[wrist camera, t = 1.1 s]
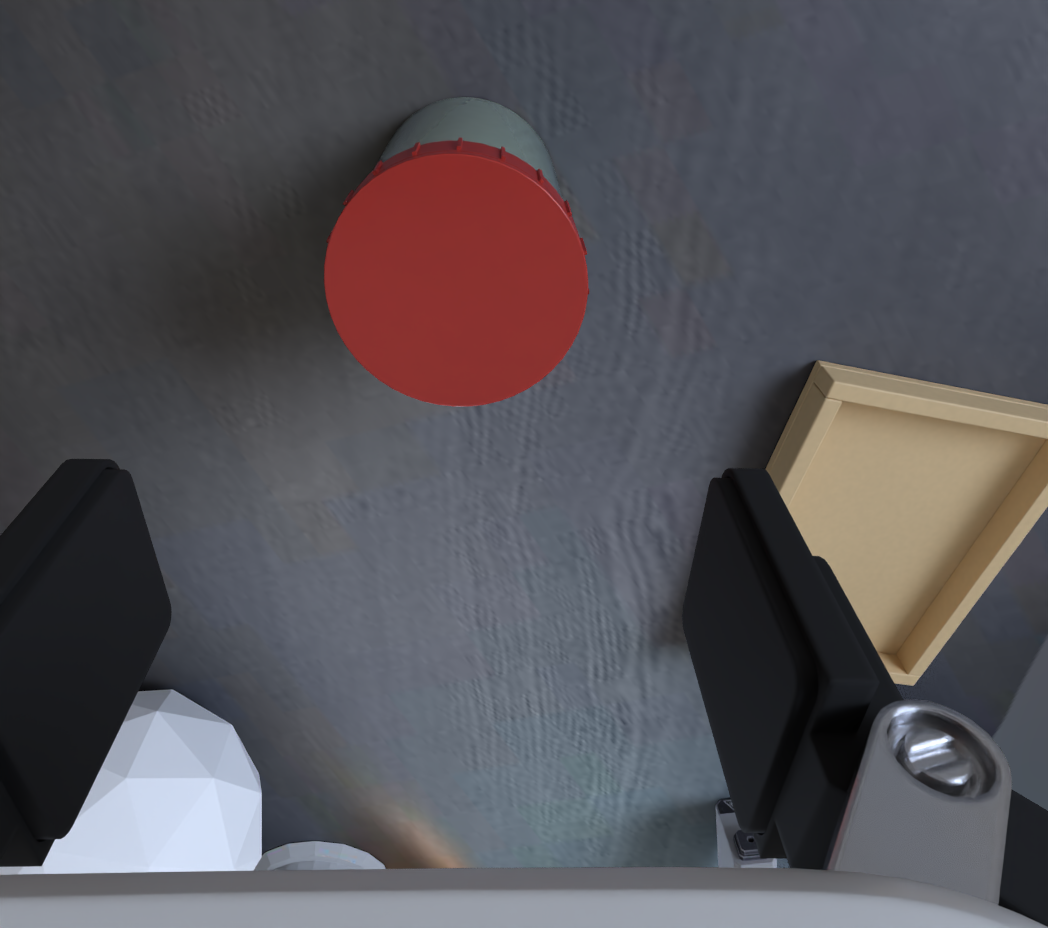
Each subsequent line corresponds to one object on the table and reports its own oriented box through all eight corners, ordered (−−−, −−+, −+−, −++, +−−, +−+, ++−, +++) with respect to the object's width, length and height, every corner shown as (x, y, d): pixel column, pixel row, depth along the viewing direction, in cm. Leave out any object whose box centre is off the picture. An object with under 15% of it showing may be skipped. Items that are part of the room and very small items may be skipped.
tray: (816, 359, 32) (833, 381, 31) (1073, 409, 34) (1103, 432, 32) (688, 630, 41) (696, 658, 40) (897, 658, 43) (913, 686, 41)
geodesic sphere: (-4, 907, 44) (44, 1154, 34) (-161, 758, 36) (-159, 1024, 26) (241, 747, 51) (340, 914, 41) (156, 593, 43) (252, 753, 33)
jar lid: (343, 110, 19) (332, 122, 17) (613, 170, 20) (622, 185, 18) (324, 360, 23) (313, 385, 21) (551, 400, 24) (555, 426, 22)
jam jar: (388, 77, 26) (343, 129, 18) (576, 120, 27) (610, 188, 19) (369, 262, 29) (323, 373, 21) (535, 295, 30) (549, 413, 22)
